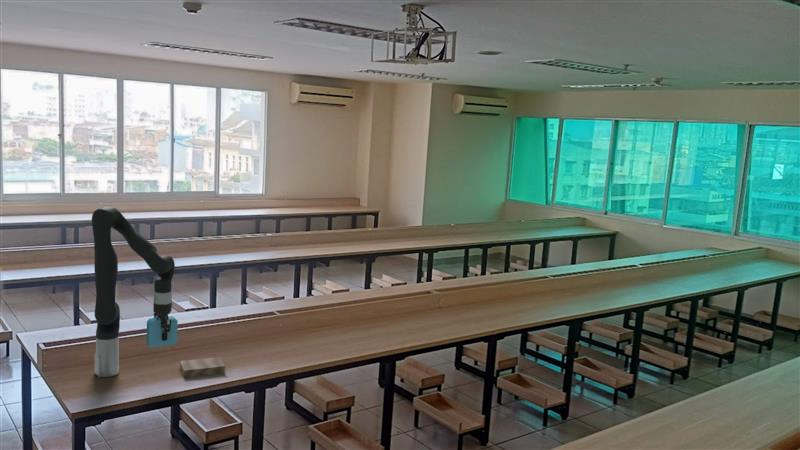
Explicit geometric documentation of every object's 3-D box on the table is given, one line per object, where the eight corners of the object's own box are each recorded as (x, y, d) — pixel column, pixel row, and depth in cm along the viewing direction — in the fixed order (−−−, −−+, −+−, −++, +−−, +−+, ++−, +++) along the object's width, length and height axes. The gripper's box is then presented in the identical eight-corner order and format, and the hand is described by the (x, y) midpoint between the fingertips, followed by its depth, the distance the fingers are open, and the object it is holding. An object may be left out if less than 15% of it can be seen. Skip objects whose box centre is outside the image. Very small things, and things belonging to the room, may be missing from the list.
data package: (174, 341, 290) (174, 315, 288) (177, 344, 287) (177, 318, 285) (146, 345, 284) (146, 318, 282) (148, 348, 280) (149, 321, 278)
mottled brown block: (184, 378, 291) (184, 370, 290) (180, 369, 302) (180, 361, 301) (224, 374, 299) (224, 366, 299) (219, 365, 310) (219, 357, 309)
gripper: (147, 298, 285) (147, 335, 287) (160, 306, 274) (159, 345, 277) (164, 296, 290) (163, 332, 292) (177, 304, 279) (177, 342, 282)
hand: (162, 338), depth 285 cm, fingers closed on data package, 5 cm apart
